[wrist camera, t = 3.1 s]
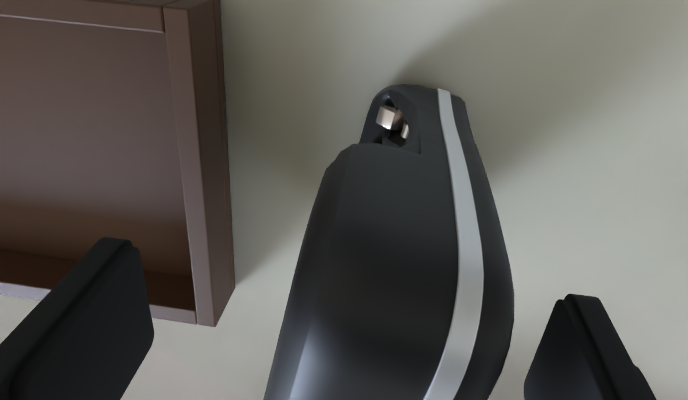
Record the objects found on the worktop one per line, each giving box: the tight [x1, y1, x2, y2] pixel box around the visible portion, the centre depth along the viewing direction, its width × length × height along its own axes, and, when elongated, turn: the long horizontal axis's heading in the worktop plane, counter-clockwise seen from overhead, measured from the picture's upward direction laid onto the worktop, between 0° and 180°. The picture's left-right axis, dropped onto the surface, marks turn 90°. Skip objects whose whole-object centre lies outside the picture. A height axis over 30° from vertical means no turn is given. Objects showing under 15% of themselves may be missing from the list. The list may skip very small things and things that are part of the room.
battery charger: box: [264, 84, 514, 400], centre depth 13 cm, size 7×4×11 cm, turn 166°
